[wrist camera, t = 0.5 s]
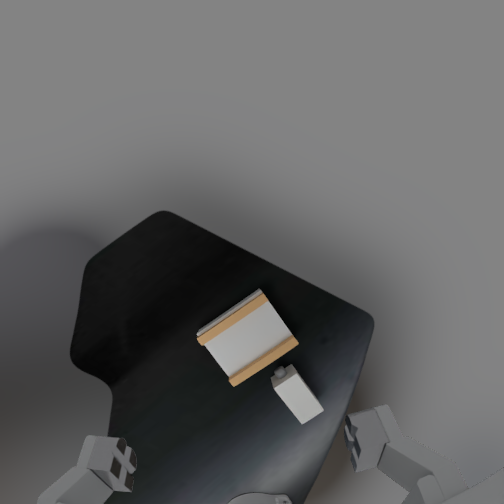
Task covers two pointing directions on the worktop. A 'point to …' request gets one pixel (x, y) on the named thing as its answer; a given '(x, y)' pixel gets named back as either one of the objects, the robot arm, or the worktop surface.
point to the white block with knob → (296, 393)
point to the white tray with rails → (247, 337)
